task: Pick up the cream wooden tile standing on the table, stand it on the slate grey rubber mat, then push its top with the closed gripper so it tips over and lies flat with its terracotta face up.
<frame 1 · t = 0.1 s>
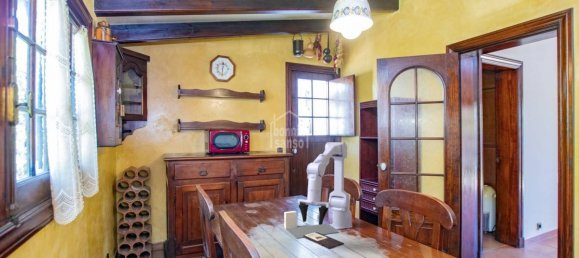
hand: (312, 222, 129), 11 cm above the table, tool pointing down, fingers open, 7 cm apart
mat: (312, 231, 150), on the table
tile: (290, 227, 155), on the table
chocolate bar: (322, 241, 137), on the table
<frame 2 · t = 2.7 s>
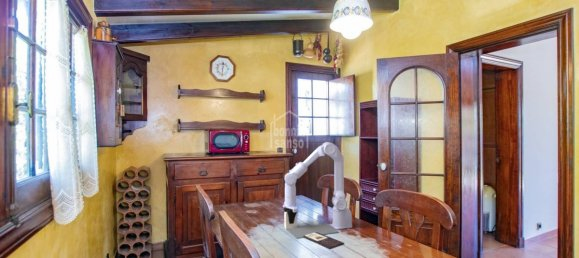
hand: (290, 222, 155), 2 cm above the table, tool pointing down, fingers closed on tile, 2 cm apart
tile: (290, 227, 155), on the table, touching gripper
everything else where it was.
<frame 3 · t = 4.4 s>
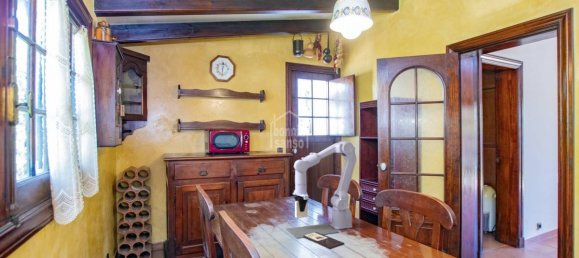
hand: (301, 210, 152), 9 cm above the table, tool pointing down, fingers closed on tile, 2 cm apart
tile: (301, 217, 152), point 6 cm above the table, touching gripper
everything else where it was.
when the fingers open (4 cm above the table, at t = 6.1 s): tile stays where it is, resting on mat.
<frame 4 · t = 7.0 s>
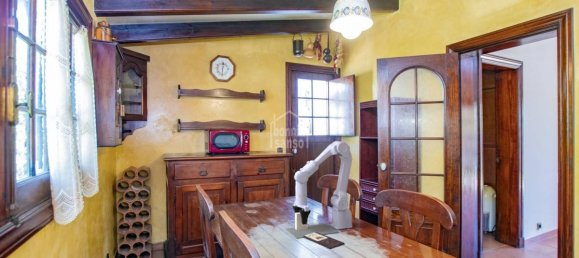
hand: (301, 221, 152), 4 cm above the table, tool pointing down, fingers open, 7 cm apart
tile: (301, 228, 152), resting on mat
everything else where it was.
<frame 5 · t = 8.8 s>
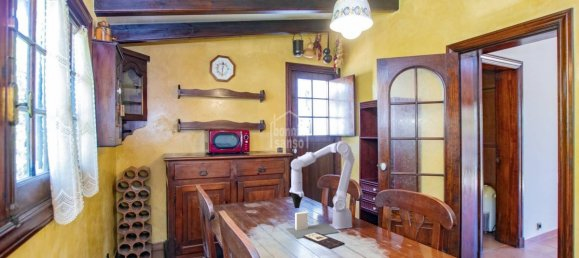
hand: (296, 207, 158), 9 cm above the table, tool pointing down, fingers closed
nothing on the table moved.
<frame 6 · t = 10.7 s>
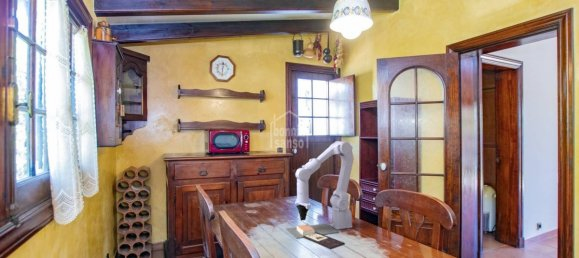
hand: (303, 219, 150), 5 cm above the table, tool pointing down, fingers closed
tile: (302, 227, 151), point 1 cm above the table, tilted 90°, touching mat
everything else where it was.
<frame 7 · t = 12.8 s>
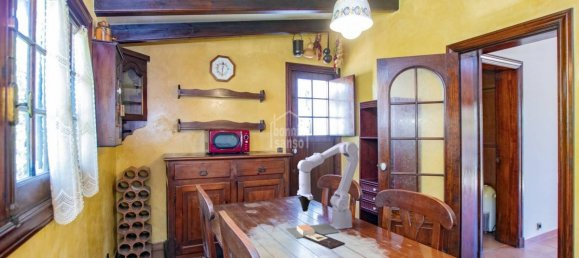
hand: (305, 211, 151), 9 cm above the table, tool pointing down, fingers closed
nothing on the table moved.
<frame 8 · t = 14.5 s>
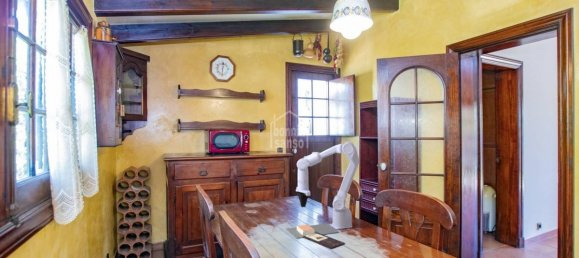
hand: (303, 206, 160), 9 cm above the table, tool pointing down, fingers closed
nothing on the table moved.
at the end: tile tilted 90°; tile inside the target area on the mat (4.5 cm from its centre), point 1.4 cm above the mat's base; tile touching mat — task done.
